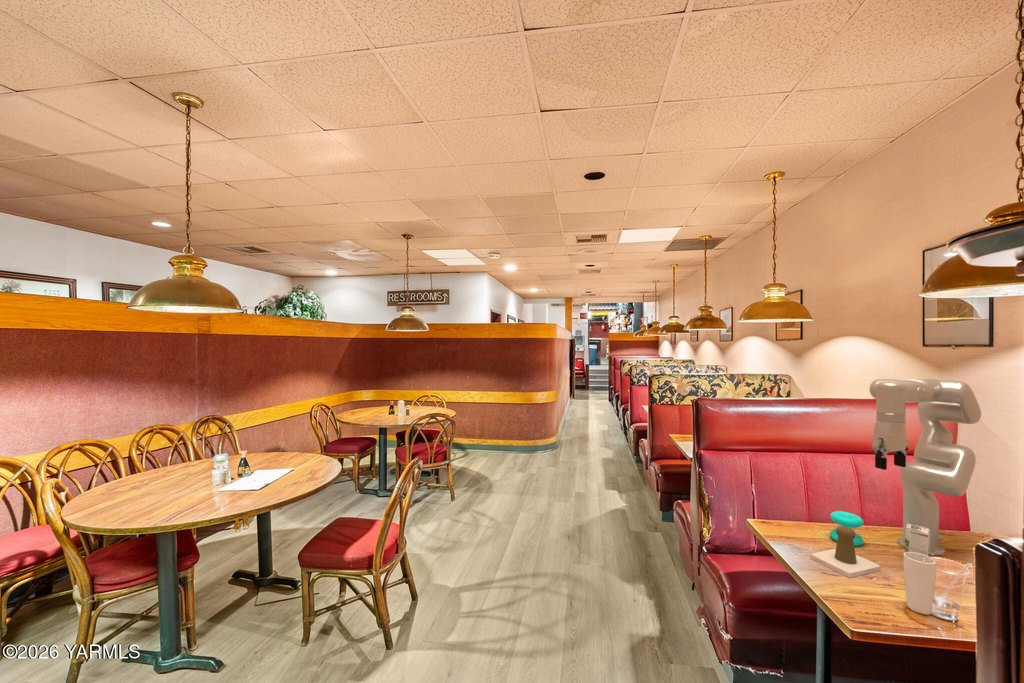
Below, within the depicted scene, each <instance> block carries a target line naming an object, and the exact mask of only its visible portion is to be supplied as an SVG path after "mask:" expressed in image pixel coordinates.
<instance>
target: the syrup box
mask: <svg viewBox="0 0 1024 683" xmlns="http://www.w3.org/2000/svg"><path fill="white" fill-rule="evenodd" d="M929 540H930V529H927V528H924V527H921V526H917V525H913V524H907V526H906V537H905V547H904V553H905V552H915V553H920V554H923V555H926V556H928V557H930V555H929Z"/></svg>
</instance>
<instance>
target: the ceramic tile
mask: <svg viewBox="0 0 1024 683" xmlns="http://www.w3.org/2000/svg"><path fill="white" fill-rule="evenodd" d="M835 551H836V548H832V549H827V550H823V551H819V552H814V553H810V554H809V559H811V560H813V561H814V562H817V563H819V564H821V565H823V566H824V567H826V568H828V569H831V570H833V571H835V572H837V573H839V574H841V575H842V576H845V577H847V578H848V579H851V578H857V577H861V576H864V575H867V574H873V573H875V572H876V573H877V572H879V571H881V570H882V566H881V565H880V564H877V563H875V562H874V561H871V560H868V559H866V558H865V557H862V556H860V555H857V554H856V561H857V563H856V564H846V563H843V562H840V561H838V560H837V559H835Z"/></svg>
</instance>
